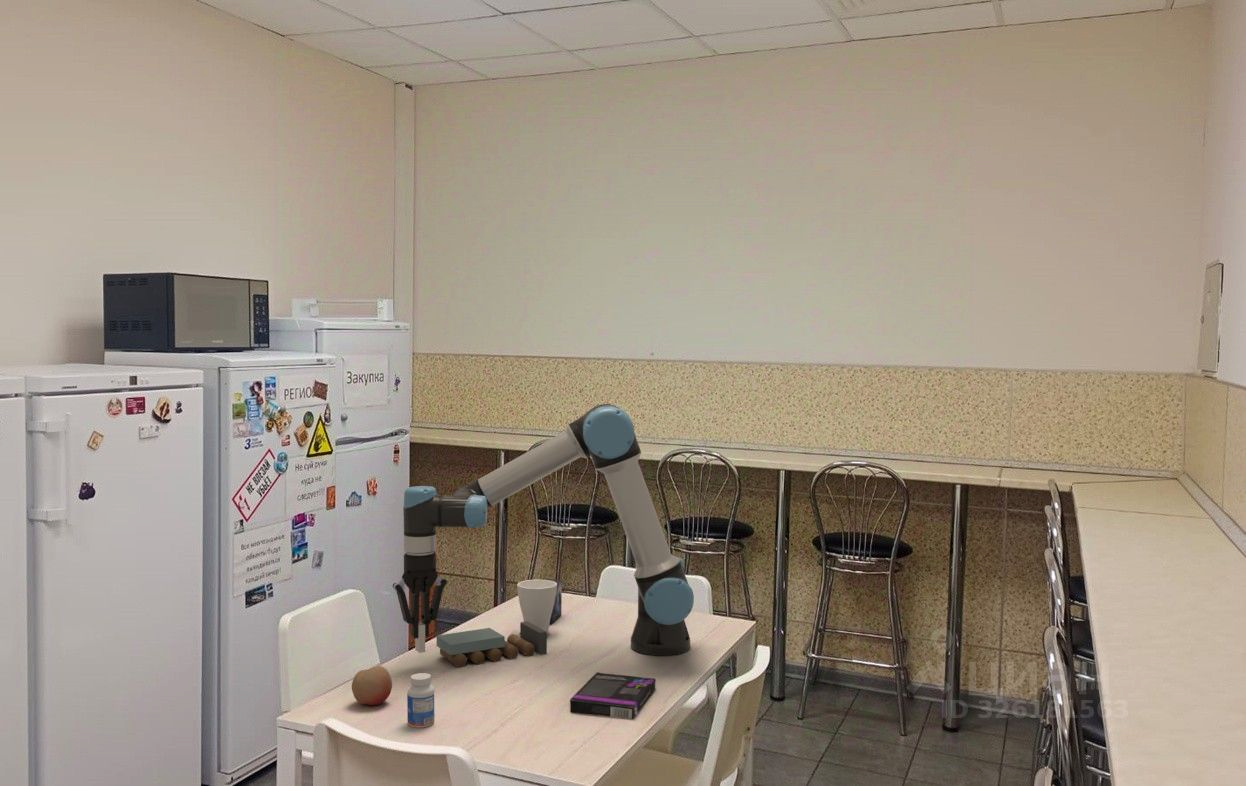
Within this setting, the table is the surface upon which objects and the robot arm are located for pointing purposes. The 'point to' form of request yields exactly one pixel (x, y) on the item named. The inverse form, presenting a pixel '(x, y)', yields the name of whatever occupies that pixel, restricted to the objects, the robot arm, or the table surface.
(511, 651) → the roller bed
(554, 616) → the small box
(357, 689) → the fruit
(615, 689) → the box
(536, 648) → the bar
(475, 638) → the slab
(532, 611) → the cup
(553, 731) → the table surface
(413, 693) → the pill bottle
